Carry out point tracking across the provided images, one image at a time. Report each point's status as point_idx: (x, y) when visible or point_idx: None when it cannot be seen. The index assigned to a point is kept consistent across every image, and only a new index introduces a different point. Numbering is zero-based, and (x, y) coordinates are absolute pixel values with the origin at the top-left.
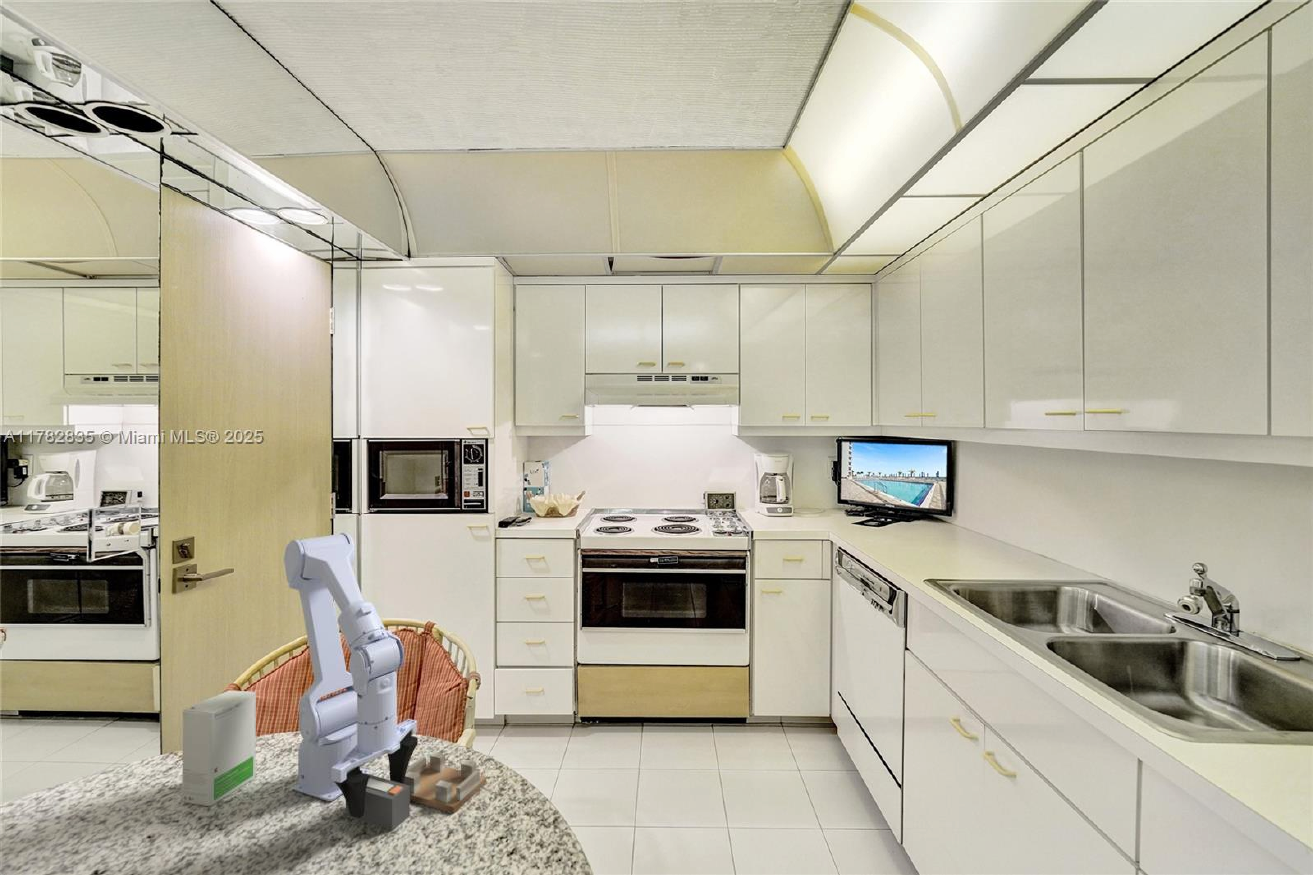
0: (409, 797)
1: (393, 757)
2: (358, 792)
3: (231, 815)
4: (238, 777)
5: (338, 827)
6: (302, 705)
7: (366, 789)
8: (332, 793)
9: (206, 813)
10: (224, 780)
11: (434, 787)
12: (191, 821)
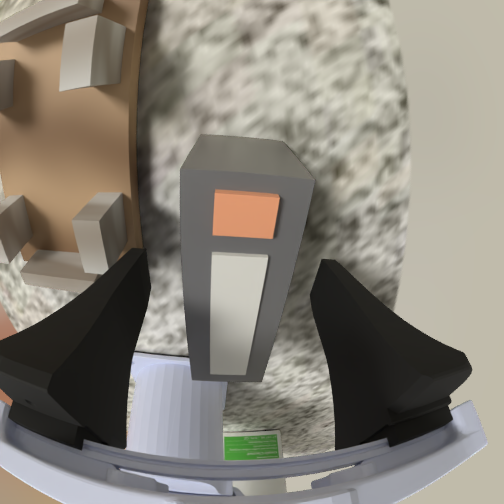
0: (191, 151)
1: (119, 371)
2: (418, 330)
3: (288, 414)
4: (245, 445)
5: (295, 297)
6: None
7: (265, 332)
8: None
9: (288, 425)
10: (264, 450)
11: (71, 147)
12: (302, 424)
